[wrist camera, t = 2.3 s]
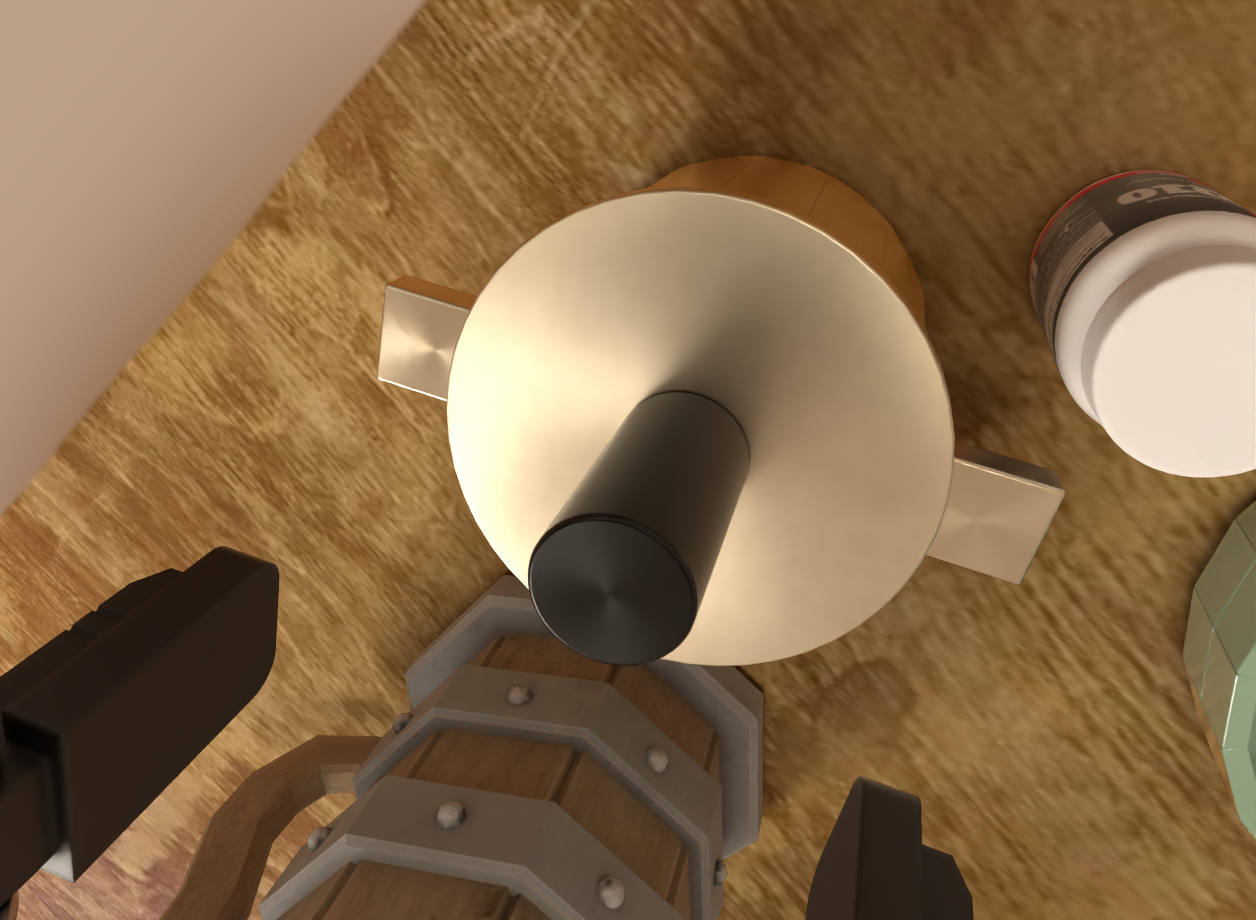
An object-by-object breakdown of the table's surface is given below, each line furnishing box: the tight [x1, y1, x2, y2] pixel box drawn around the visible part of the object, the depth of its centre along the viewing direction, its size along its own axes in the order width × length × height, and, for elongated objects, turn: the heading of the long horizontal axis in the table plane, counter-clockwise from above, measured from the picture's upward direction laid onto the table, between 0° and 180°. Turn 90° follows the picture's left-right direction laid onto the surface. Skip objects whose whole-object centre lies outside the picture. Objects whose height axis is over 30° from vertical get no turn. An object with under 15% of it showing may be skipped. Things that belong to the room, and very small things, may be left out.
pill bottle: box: [1029, 170, 1256, 477], centre depth 20 cm, size 5×5×8 cm
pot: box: [377, 155, 1065, 585], centre depth 24 cm, size 10×15×8 cm, turn 78°
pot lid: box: [446, 186, 955, 667], centre depth 18 cm, size 11×11×7 cm
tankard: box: [159, 575, 763, 920], centre depth 29 cm, size 20×13×15 cm, turn 93°
